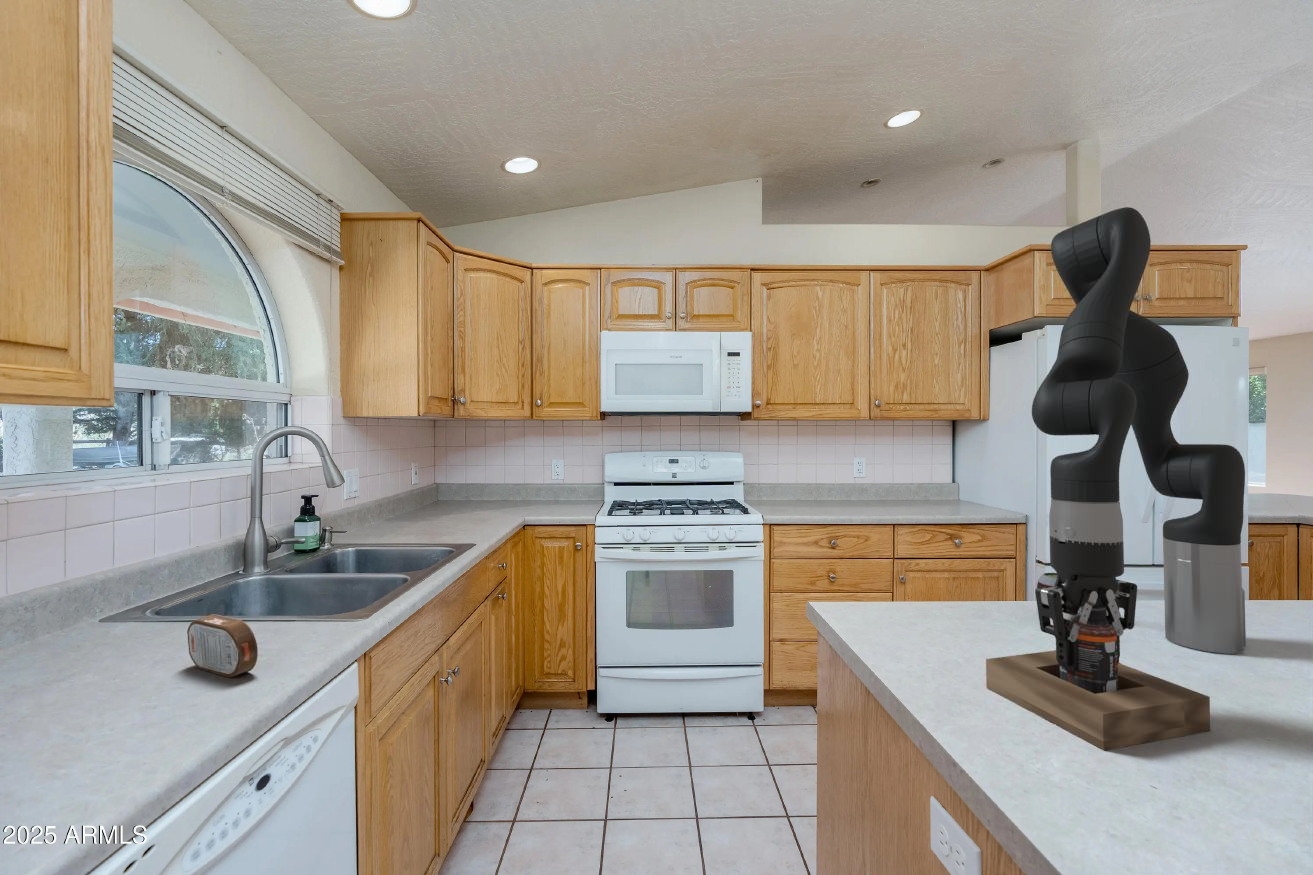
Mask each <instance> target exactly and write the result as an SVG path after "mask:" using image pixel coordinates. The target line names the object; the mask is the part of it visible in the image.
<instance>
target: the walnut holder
mask: <svg viewBox="0 0 1313 875" xmlns="http://www.w3.org/2000/svg"><path fill="white" fill-rule="evenodd" d="M985 672H986V673H985V674H986V675H985V676H986V682H985V683H986V689H988V690H990V691H992V692H993V693H995V694H997V695H999V696H1001V697H1003V698H1005V699H1006V700H1009V701H1011V702H1013V703H1014V704H1016V705H1018V706H1020V707H1022V708H1023V709H1026V710H1027V711H1029V712H1031V713H1033V714H1035V715H1037V716H1038V717H1040V718H1042V719H1044V720H1046V721H1048V722H1050V723H1052V724H1053V725H1055V724H1056V726H1057V727H1059V728H1061V729H1063V730H1065V731H1067V733H1070V734H1072V735H1074V736H1076V737H1078V738H1080V739H1081V740H1083V741H1085V742H1087V743H1089V744H1091V745H1093V746H1095V747H1097V748H1098V749H1100V750H1102V751H1107V750H1112V749H1119V748H1124V747H1128V746H1135V745H1141V744H1145V743H1151V742H1155V741H1161V740H1162V741H1163V740H1167V739H1173V738H1179V737H1183V736H1184V737H1185V736H1189V735H1195V734H1201V733H1205V732H1211V700H1210V696H1208V695H1206V694H1203V693H1200V692H1198V691H1196V690H1192V689H1190V688H1187V687H1183V686H1181V685H1179V684H1176V683H1174V682H1171V681H1169V680H1165V679H1163V678H1161V677H1158V676H1155V675H1153V674H1150V673H1147V672H1144V671H1142V670H1139V669H1136V668H1134V667H1131V666H1128V665H1125V664H1123V663H1121V662H1119V663H1118V691H1111V692H1104V693H1098V694H1094V693H1092V692H1089V691H1087V690H1085V689H1083V688H1080V687H1078V686H1076V685H1074V684H1071V683H1069V682H1067V681H1065V680H1062V679H1060V665H1059V664H1058V662H1057V659H1056V649H1055V650H1048V651H1047V650H1046V651H1040V652H1032V653H1025V654H1024V653H1022V654H1015V655H1008V656H999V657H992V658H986V659H985Z"/></svg>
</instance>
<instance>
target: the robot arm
mask: <svg viewBox="0 0 1313 875" xmlns="http://www.w3.org/2000/svg"><path fill="white" fill-rule="evenodd" d="M1151 243H1152V242H1151V234H1150V230H1149V227H1148V225H1147V222H1146V220H1145V218H1144V217H1143V215H1142V214H1141V213H1140V212H1139V210H1137V209H1135V208H1134V207H1129V206H1126V207H1121V208H1118V209H1117V208H1116V209H1114V210H1111V211H1108V212H1106V213H1105V212H1104V213H1103V214H1100V215H1098V216H1096V217H1093V218H1091V219H1087V220H1086V221H1083V222H1081V223H1078V224H1077V225H1074V226H1071V227H1069V228H1066V229H1064V230H1062V231H1060V232H1058V233H1057V234H1055V235H1054V236H1053V238H1052V240H1051V243H1050V252H1051V257H1052V260H1053V263H1054V266H1055V269H1056V271H1057V274H1058V275H1059V277H1060V279H1061V281H1062V282H1063V284H1064V287H1065V289H1066V290H1067V291H1068V294H1069V295H1070V297H1071V298H1072V300H1073V302H1074V304H1075V305H1076V306H1075V307H1074V308H1073V309H1072V311H1071V312H1070V314H1069V315H1068V317H1067V318H1066V320H1065V322H1064V324H1063V326H1062V329H1061V333H1060V338H1059V344H1058V350H1057V353H1056V354H1057V355H1056V359H1055V362H1054V363H1053V365H1052V366H1051V368H1050V370H1049V372H1048V373H1047V375H1046V376H1045V377H1044V379H1043V381H1042V382H1041V383H1040V386H1039V387H1038V389H1037V391H1036V393H1035V394H1034V398H1033V400H1032V406H1031V417H1032V421H1033V423H1034V424H1035V426H1036V427H1037V429H1038V430H1040V432H1042V433H1044V434H1046V435H1048V436H1095V435H1096V436H1098V438H1097V440H1096V443H1095V444H1094V445H1093V446H1092V447H1090V448H1089V449H1086V450H1083V451H1078V452H1071V453H1066V454H1065V453H1064V454H1061V455H1058V456H1056V457H1054V458H1052V460H1051V462H1050V468H1049V470H1050V471H1049V473H1050V507H1049V508H1050V509H1049V513H1048V519H1049V520H1048V521H1049V522H1048V524H1049V527H1048V528H1049V564H1050V567H1051V568H1052V569H1053V570H1054V571H1055V573H1057V580H1056V582H1055V586H1053V587H1050V588H1043V587H1037V586H1036V588H1035V600H1036V607H1037V614H1038V621H1039V626H1040V627H1039V628H1040V631H1041V632H1043V633H1046V634H1048V635H1052V636H1054V638H1055V650H1056V659H1057V662H1058V664H1059V665H1060V666H1061V667H1064V668H1066V669H1068V670H1071V671H1074V670H1078V669H1079V661H1078V642H1077V641H1076V640H1077V637H1078V634H1079V631H1080V628H1081V627H1082V626H1085V625H1086V623H1087V620H1088V618H1089V615H1090V612H1091V609H1092V608H1097V607H1105V608H1106V615H1107V617H1106V619H1107V621H1108V623H1109V624H1111V625H1112V626H1113V627H1114V628H1115V629H1116V633H1117V660H1118V662H1117V663H1120V657H1121V648H1120V647H1121V643H1120V642H1121V640H1120V638H1121V636H1123V634H1124V631H1126V630H1129V631H1130V630H1133V629H1134V627H1135V620H1136V608H1137V607H1136V605H1137V599H1138V598H1137V596H1138V586H1137V585H1138V584H1136V583H1133V582H1129V581H1125V580H1122V579H1121V580H1120V579H1117V578H1118V577H1122V575H1124V573H1125V557H1124V556H1125V554H1124V550H1125V547H1124V546H1125V545H1124V523H1123V522H1124V520H1123V513H1122V508H1121V500H1120V498H1121V497H1120V466H1121V460H1122V459H1121V458H1122V455H1123V449H1124V446H1125V442H1126V439H1127V436H1128V434H1129V431H1130V428H1132V431H1133V433H1134V434H1133V435H1134V437H1135V439H1136V442H1137V446H1138V448H1139V453H1140V456H1141V459H1142V462H1143V465H1144V469H1145V471H1146V472H1145V473H1146V475H1147V476H1148V479H1149V481H1150V483H1151V485H1152V487H1153V488H1154V489H1155V491H1156V492H1157V493H1159V494H1160V495H1162V496H1164V497H1165V496H1166V497H1168V498H1169V497H1170V498H1175V499H1176V498H1178V499H1186V500H1189V499H1190V500H1202V503H1201V507H1200V510H1199V511H1197V512H1195V513H1193V514H1191V515H1189V516H1184V517H1183V516H1182V517H1177V518H1171V519H1168V520H1166V521H1164V523H1163V524H1162V554H1163V557H1162V558H1163V586H1164V587H1163V591H1164V592H1163V593H1164V594H1163V595H1164V596H1163V598H1164V631H1165V632H1164V635H1165V638H1166V639H1167V640H1168V641H1169V642H1172V643H1174V644H1176V645H1178V646H1182V647H1186V648H1191V649H1193V650H1194V649H1195V650H1200V651H1204V652H1209V653H1218V654H1239V653H1240V654H1241V653H1243V652H1244V648H1246V647H1247V640H1246V638H1247V637H1246V636H1247V634H1246V630H1247V629H1246V597H1245V592H1246V591H1245V589H1244V588H1243V576H1242V574H1243V573H1242V551H1241V549H1242V545H1241V543H1242V537H1241V536H1242V530H1243V524H1244V508H1245V506H1244V505H1245V504H1244V503H1245V502H1244V501H1245V487H1246V486H1245V485H1246V466H1245V461H1244V458H1243V456H1242V454H1241V453H1240V451H1239V450H1238V449H1237V448H1235V446H1232V445H1229V444H1221V443H1220V444H1216V443H1215V444H1214V443H1213V444H1212V443H1210V444H1209V443H1207V444H1205V443H1202V444H1198V443H1195V444H1194V443H1192V444H1191V443H1190V444H1189V443H1183V444H1181V443H1179V442H1178V441H1177V439H1176V438H1175V435H1174V433H1173V430H1172V426H1171V425H1172V424H1171V421H1172V418H1173V414H1174V412H1175V410H1176V408H1177V407H1178V404H1179V402H1180V400H1181V398H1182V397H1183V394H1184V393H1185V390H1186V388H1187V385H1188V383H1189V382H1188V381H1189V375H1190V374H1189V370H1188V367H1187V363H1186V361H1185V359H1184V357H1183V355H1182V352H1181V349H1180V348H1179V345H1178V342H1177V340H1176V338H1175V336H1173V334H1172V333H1170V332H1169V331H1168V330H1167V329H1165V328H1164V327H1163V326H1161V325H1159V324H1158V323H1155V322H1154V321H1152V320H1150V319H1149V318H1147V317H1145V316H1142V315H1141V314H1139V313H1137V312H1136V311H1133V310H1131V307H1132V304H1133V302H1134V300H1135V297H1136V294H1137V293H1138V290H1139V287H1140V284H1141V282H1142V281H1141V280H1142V278H1143V275H1144V272H1145V271H1146V270H1145V269H1146V267H1147V264H1148V261H1149V257H1150V252H1151ZM1120 608H1121V609H1123V611H1124V612H1123V617H1122V615H1121V612H1120ZM1067 609H1068V610H1069V611H1070V612H1073V613H1076V614H1077V615H1074V616H1073V615H1070V614H1067V613H1066V610H1067ZM1051 620H1052V624H1051ZM1067 621H1070V625H1069V628H1068V630H1066V629H1065V624H1066V622H1067Z"/></svg>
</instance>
